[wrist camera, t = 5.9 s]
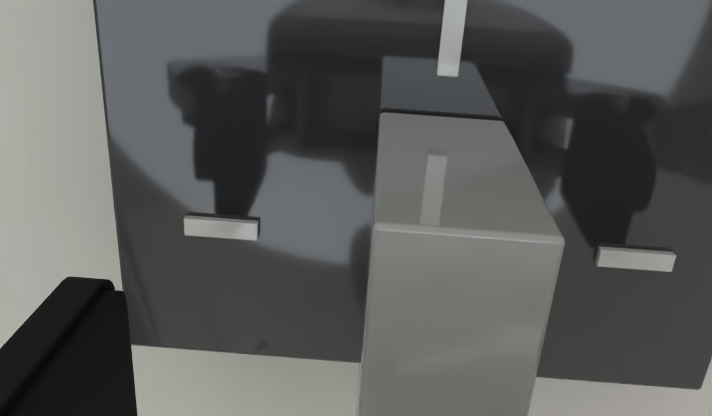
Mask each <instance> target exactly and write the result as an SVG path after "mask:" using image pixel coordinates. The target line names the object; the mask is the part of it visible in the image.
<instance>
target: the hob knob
mask: <svg viewBox="0 0 712 416" xmlns="http://www.w3.org/2000/svg"><path fill="white" fill-rule="evenodd" d="M564 246H565V240H564V237H563V235H562V233H561V231H560V229H559V227H558V225H557V223H556V221H555V219H554V217H553V215H552V213H551V211H550V209H549V207H548V205H547V204H546V202H545V200H544V198H543V196H542V194H541V192H540V190H539V188H538V186H537V184H536V182H535V180H534V178H533V176H532V174H531V172H530V171H529V169H528V167H527V165H526V163H525V161H524V159H523V157H522V155H521V153H520V151H519V149H518V147H517V145H516V143H515V141H514V139H513V137H512V136H511V134H510V132H509V130H508V128H507V126H506V124H505V123H504V122H502V121H495V120H482V119H468V118H454V117H441V116H427V115H413V114H400V113H386V112H384V113H381V114H380V115H379V117H378V130H377V142H376V155H375V168H374V181H373V194H372V207H371V219H370V232H369V245H368V258H367V271H366V283H365V296H364V309H363V322H362V335H361V348H360V362H359V376H358V391H357V405H356V416H528V411H529V407H530V402H531V397H532V393H533V388H534V384H535V379H536V374H537V370H538V365H539V361H540V356H541V352H542V347H543V342H544V338H545V333H546V329H547V324H548V319H549V315H550V310H551V306H552V301H553V296H554V292H555V287H556V283H557V278H558V273H559V269H560V264H561V260H562V255H563V250H564Z"/></svg>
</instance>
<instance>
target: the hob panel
mask: <svg viewBox="0 0 712 416" xmlns="http://www.w3.org/2000/svg"><path fill="white" fill-rule="evenodd" d="M93 3H94V13H95V22H96V32H97V42H98V52H99V62H100V72H101V81H102V91H103V101H104V111H105V121H106V131H107V140H108V150H109V160H110V170H111V180H112V190H113V199H114V209H115V219H116V229H117V239H118V249H119V258H120V268H121V278H122V288H123V292H124V293H125V295H126V299H127V307H128V318H129V329H130V340H131V345H137V346H150V347H163V348H175V349H188V350H201V351H213V352H226V353H239V354H251V355H264V356H277V357H289V358H302V359H315V360H327V361H340V362H353V363H359V362H360V348H361V335H362V322H363V309H364V296H365V283H366V271H367V258H368V245H369V232H370V219H371V207H372V194H373V181H374V168H375V155H376V142H377V130H378V117H379V115H380V114H381V113H384V112H386V113H400V114H413V115H427V116H441V117H454V118H468V119H482V120H495V121H502V122H504V123H505V124H506V126H507V128H508V130H509V132H510V134H511V136H512V137H513V139H514V141H515V143H516V145H517V147H518V149H519V151H520V153H521V155H522V157H523V159H524V161H525V163H526V165H527V167H528V169H529V171H530V172H531V174H532V176H533V178H534V180H535V182H536V184H537V186H538V188H539V190H540V192H541V194H542V196H543V198H544V200H545V202H546V204H547V205H548V207H549V209H550V211H551V213H552V215H553V217H554V219H555V221H556V223H557V225H558V227H559V229H560V231H561V233H562V235H563V237H564V240H565V246H564V250H563V255H562V260H561V264H560V269H559V273H558V278H557V283H556V287H555V292H554V296H553V301H552V306H551V310H550V315H549V319H548V324H547V329H546V333H545V338H544V342H543V347H542V352H541V356H540V361H539V365H538V370H537V374H536V377H543V378H556V379H568V380H581V381H594V382H606V383H619V384H632V385H644V386H657V387H670V388H683V389H695V390H698V389H700V388H701V387H702V384H703V381H704V378H705V375H706V373H707V370H708V367H709V364H710V361H711V358H712V0H93Z"/></svg>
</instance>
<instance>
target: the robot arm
mask: <svg viewBox="0 0 712 416" xmlns="http://www.w3.org/2000/svg"><path fill="white" fill-rule="evenodd" d="M0 416H137V407H136V396H135V385H134V374H133V363H132V351H131V340H130V329H129V318H128V307H127V299H126V295H125V293H124V292H123V291H115V287H114V285H113V283H112V282H111V281H110V280H107V279H94V278H82V277H67V278H66V279H64V280H63V281H62V282H61V283H60V284H59V285H58V286H57V287H56V289H55V290H54V291H53V292H52V293H51V294H50V295H49V296H48V297H47V298H46V299H45V301H44V302H43V303H42V304H41V305H40V306H39V307H38V308H37V309H36V310H35V312H34V313H33V314H32V315H31V316H30V317H29V318H28V319H27V320H26V321H25V322H24V324H23V325H22V326H21V327H20V328H19V329H18V330H17V331H16V332H15V333H14V334H13V336H12V337H11V338H10V339H9V340H8V341H7V342H6V343H5V344H4V345H3V346H2V348H1V349H0Z"/></svg>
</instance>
